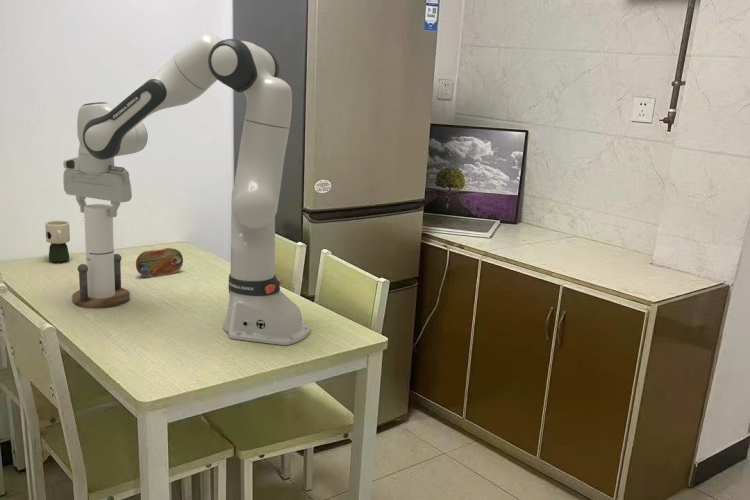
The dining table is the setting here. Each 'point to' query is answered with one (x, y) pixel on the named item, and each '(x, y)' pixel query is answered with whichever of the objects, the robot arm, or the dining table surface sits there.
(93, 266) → the cylindrical container
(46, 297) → the dining table surface
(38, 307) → the dining table surface
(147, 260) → the tin
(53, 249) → the character mug
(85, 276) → the roll holder
